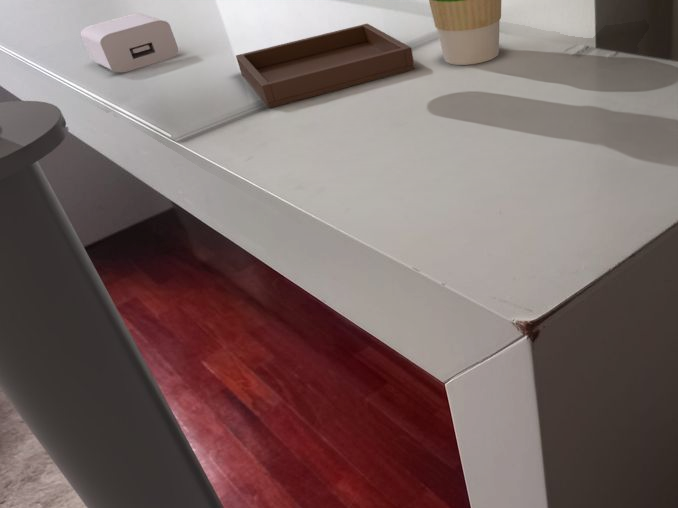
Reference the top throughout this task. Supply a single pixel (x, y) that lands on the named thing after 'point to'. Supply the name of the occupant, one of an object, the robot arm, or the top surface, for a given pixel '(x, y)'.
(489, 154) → the top surface
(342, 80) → the holder
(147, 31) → the charger
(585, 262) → the top surface
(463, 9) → the coffee cup
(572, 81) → the top surface
